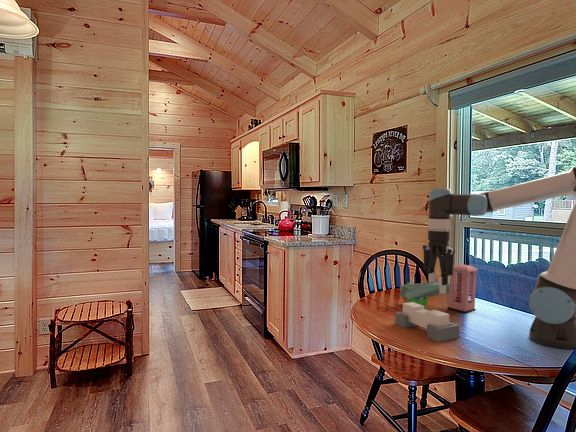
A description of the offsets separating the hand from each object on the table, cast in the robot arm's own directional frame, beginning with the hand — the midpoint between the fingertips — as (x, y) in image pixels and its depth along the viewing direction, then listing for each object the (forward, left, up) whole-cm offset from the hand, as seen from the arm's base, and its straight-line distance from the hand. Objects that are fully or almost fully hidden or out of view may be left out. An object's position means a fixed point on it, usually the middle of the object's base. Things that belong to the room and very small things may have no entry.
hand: (436, 291), depth 148 cm
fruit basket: (+26, -15, -14) cm, 33 cm away
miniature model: (+14, -31, -14) cm, 36 cm away
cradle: (0, +5, -14) cm, 15 cm away
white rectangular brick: (0, +6, -12) cm, 13 cm away
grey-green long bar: (0, +6, -1) cm, 6 cm away
